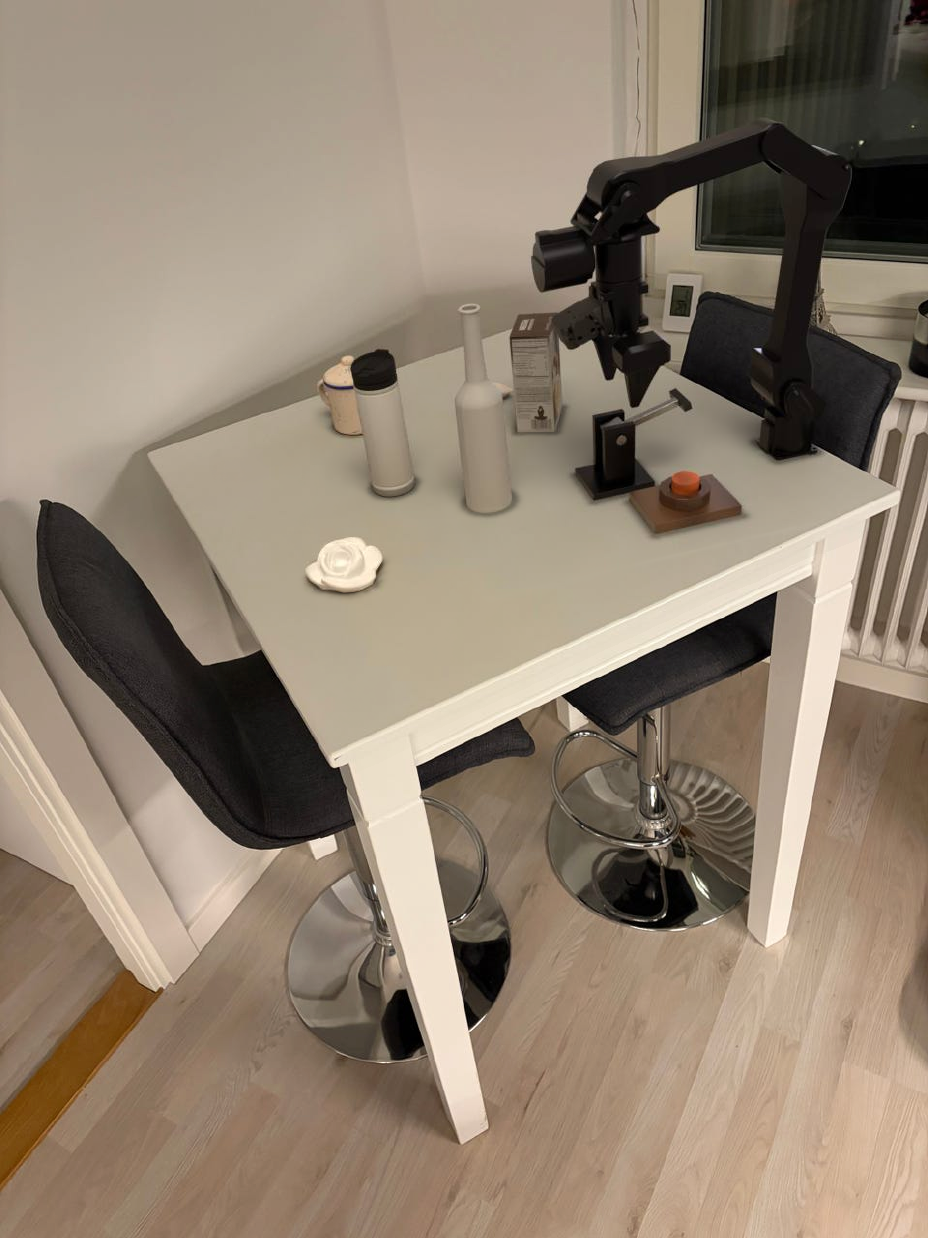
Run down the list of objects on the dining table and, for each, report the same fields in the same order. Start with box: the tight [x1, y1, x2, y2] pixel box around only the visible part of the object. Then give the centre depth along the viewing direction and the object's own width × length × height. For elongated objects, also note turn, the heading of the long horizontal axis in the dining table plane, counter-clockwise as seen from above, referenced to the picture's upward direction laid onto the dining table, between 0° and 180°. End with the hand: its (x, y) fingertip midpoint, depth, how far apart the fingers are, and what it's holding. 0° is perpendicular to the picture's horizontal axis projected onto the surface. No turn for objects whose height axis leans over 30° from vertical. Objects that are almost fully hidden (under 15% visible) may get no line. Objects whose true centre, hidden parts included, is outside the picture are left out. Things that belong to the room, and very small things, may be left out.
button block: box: [629, 473, 743, 535], centre depth 124 cm, size 12×9×4 cm
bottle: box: [454, 303, 513, 514], centre depth 123 cm, size 7×7×28 cm
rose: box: [304, 536, 383, 593], centre depth 120 cm, size 10×4×10 cm
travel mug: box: [350, 348, 416, 498], centre depth 132 cm, size 6×7×20 cm
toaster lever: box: [600, 387, 693, 434], centre depth 127 cm, size 12×5×2 cm, turn 102°
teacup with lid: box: [316, 355, 363, 436], centre depth 153 cm, size 12×9×12 cm
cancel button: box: [671, 470, 700, 495], centre depth 123 cm, size 4×4×2 cm
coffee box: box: [508, 311, 563, 433], centre depth 145 cm, size 9×6×16 cm
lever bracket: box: [574, 408, 656, 501], centre depth 129 cm, size 9×8×10 cm
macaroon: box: [492, 381, 514, 399], centre depth 157 cm, size 4×5×2 cm
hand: (621, 392), depth 123 cm, fingers open, 9 cm apart
